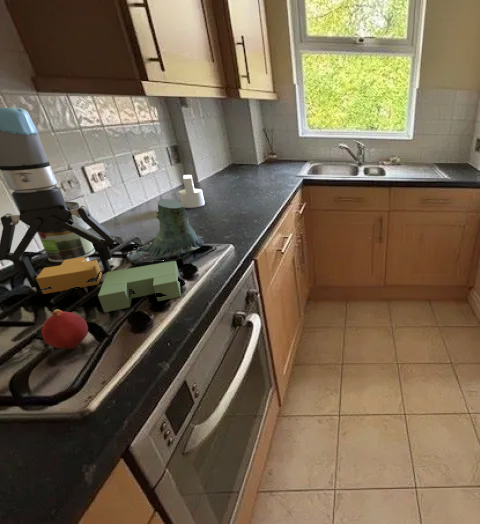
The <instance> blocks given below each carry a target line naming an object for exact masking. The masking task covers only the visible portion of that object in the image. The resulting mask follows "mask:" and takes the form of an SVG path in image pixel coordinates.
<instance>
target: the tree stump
mask: <svg viewBox="0 0 480 524" xmlns="http://www.w3.org/2000/svg"><path fill="white" fill-rule="evenodd" d="M156 204H157V211H156V214H157V216H156V217H155V219H158V222H159V231H158V232H157V233H156V234H155V237H154V240H153V241H152V242H151V243H149V244H146V245H142V246H138V247H137V248H134V247H133V250H131V251H129V253H128V254H127V255H126V258H127V260H128V261H129V262H131V263H133V264H134V265H141V266H147V265H153V264H159V263H165V262H171V261H179V260H184V259H185V258H187V257H188V256H190V255H191V254H193V252H195V251H197V250H198V249H200V248H202V247H203V246H204V244H205V241H204V237H203V236H199V235H197V233H196V231H195V230H194V229H193V227H192V226H191V225H190V222H189V215H188V214H187V209H186V208H184V206H183V204H182V203H181V201H180V200H176V199H170V198H163V199H159V200H158V201H157V203H156ZM146 253H151V256H154V257H155V256H156V258H157V259H154V260H164V261H153V262H142V263H139V262H137V261H134V260H137V258H139V257H140V256H142V255H143V254H146ZM175 256H177V257H180V258H178V259H169V258H171V257H175ZM147 258H148V257H144V258H143V259H147ZM137 263H138V264H137Z"/></svg>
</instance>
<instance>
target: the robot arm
mask: <svg viewBox="0 0 480 524" xmlns="http://www.w3.org/2000/svg"><path fill="white" fill-rule="evenodd" d="M39 133H40V132H39V130H38V129H37V128H36V126H35V123H34V121H33V120H32V117H31V115H30V113H29V112H28V110H26V109H24V108H21V107H0V173H1V175H2V177H3V179H4V182H5V183H6V185H7V188H8V190H11V191H12V192H11V197H12V200H13V201H14V203H15V206H16V208H17V210H18V211H19V214H12V213H6V214H4V215H2V216H1V217H0V222H1V225H2V231H1V235H0V261H1V262H2V261H10V262H12V264H13V265H14V267H15V270H16V272H17V273H18V274H19V275H23V274H24V275H25V277H26V279H27V281H28V283H29V285H30V287H31V288H32V289H33V288H37V287H38V286H39V284H38V282H37V280H36V278H37V277H38V275H37V273H36V271H35V268H34V266H33V264H32V263H31V260H30V259H29V256H23V255H24V253H25V251H26V250H27V249H28V247H29V245H30V244H31V242H32V241H33V239H34V237H35V236H36V234H38V233H37V232H38V231H39V232H43V233H47V232H50V231H61V230H63V229H66V230H68V231H70V232H73V233H75V234H77V235H79V236H80V237H82V238H84V239H86V240H88V241H90V242H91V243H92V244H94V245H95V246H96V247H97V248H96V252H97V254H98V258H99V260H100V262H101V265H102V267H103V270H104V272H105V274H106V273H107V272H111V271H112V267H111V264H110V262H109V261H110V260H111V259H112V256H113V255H112V251H111V250H110V249H111V248H110V247H109V246H111V245H114V244H115V242H116V237H115V236H114V235H113V234H112V233H111V232H110V231H109V230H107V228H106V227H104V225H102V224H101V223H100V222H99V221H98V220H97V219H96V218H94V217H93V216H92V215H91V214H90V212H89V210H88V208H87V206H85V205H81V206H79V208H76V209H71V210H70V209H69V208H68V207H67V205H66V203H65V202H66V200H65V198H64V195H63V193H62V190H61V188H60V187H58V186H57V185H58V183H59V182H58V181H57V178H56V176H55V173H54V170H53V168H52V166H51V163H50V162H49V160H48V156H47V154H46V151H45V148H44V145H43V143H42V140H41V137H40V135H39ZM72 215H76V216H77V217H78V218H82V220H83V221H84V222H85V225H86V226H88V227H89V228H90V229H92V230H93V231H94V232H95V233H96V234H95V233H93V232H92V231H90V230H88V229H87V230H86V229H85V228H83V227H81V226H79V225H78V224H77V223H76V222H74V221H72V220H70V218H71V216H72ZM20 221H21V222H22V223H23V224H25V225H27V226H28V229H27V230H26V232H25V233H24V235H23V237H22V238H21V240H20V242H19V243H18V245H17V247H16V248H15V249H14V251H13V252H11V248H12V246H13V245H12V244H13V241H14V240H13V239H14V236H15V230H16V226H17V225H18V224H19V223H20ZM98 235H99V236H98Z"/></svg>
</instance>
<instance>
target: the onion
mask: <svg viewBox="0 0 480 524" xmlns="http://www.w3.org/2000/svg"><path fill="white" fill-rule="evenodd" d="M88 332H89V326H88V323H87V321H86V320H85V319H84V317H83V316H81V315H79V314H77V313H74V312H71V311H63V310H61V309H54V310H53V311H52V313H51V315H50V316H49V317H48V318H46V320H45V321H44V323H43V325H42V327H41V336H42V339H43V342H45V343H46V345H48V346H50V347H52V348H55V349H66V350H75V349H76V348H77V347H78V346H79V345H80V344H81V343H82V342H83V341H84V340H85V338H86V337H87V335H88Z"/></svg>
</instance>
